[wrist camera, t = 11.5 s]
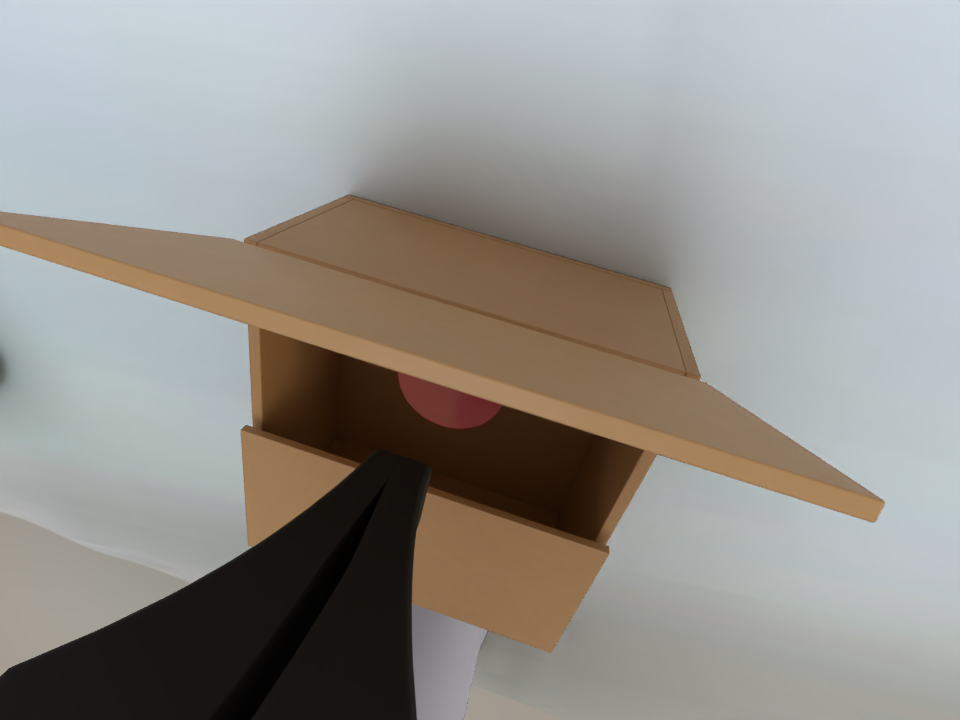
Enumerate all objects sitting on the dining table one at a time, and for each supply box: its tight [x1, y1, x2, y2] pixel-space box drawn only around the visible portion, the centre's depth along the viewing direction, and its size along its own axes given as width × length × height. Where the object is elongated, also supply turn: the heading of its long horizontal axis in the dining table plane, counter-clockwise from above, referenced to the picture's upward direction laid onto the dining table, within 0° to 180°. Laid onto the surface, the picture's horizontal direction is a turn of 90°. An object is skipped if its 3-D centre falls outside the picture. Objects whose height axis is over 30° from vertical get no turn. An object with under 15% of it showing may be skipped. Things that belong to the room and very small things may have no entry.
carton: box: [241, 195, 701, 653], centre depth 18 cm, size 13×13×7 cm
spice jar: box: [398, 372, 505, 429], centre depth 17 cm, size 4×4×5 cm
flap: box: [0, 212, 885, 522], centre depth 9 cm, size 6×13×1 cm
